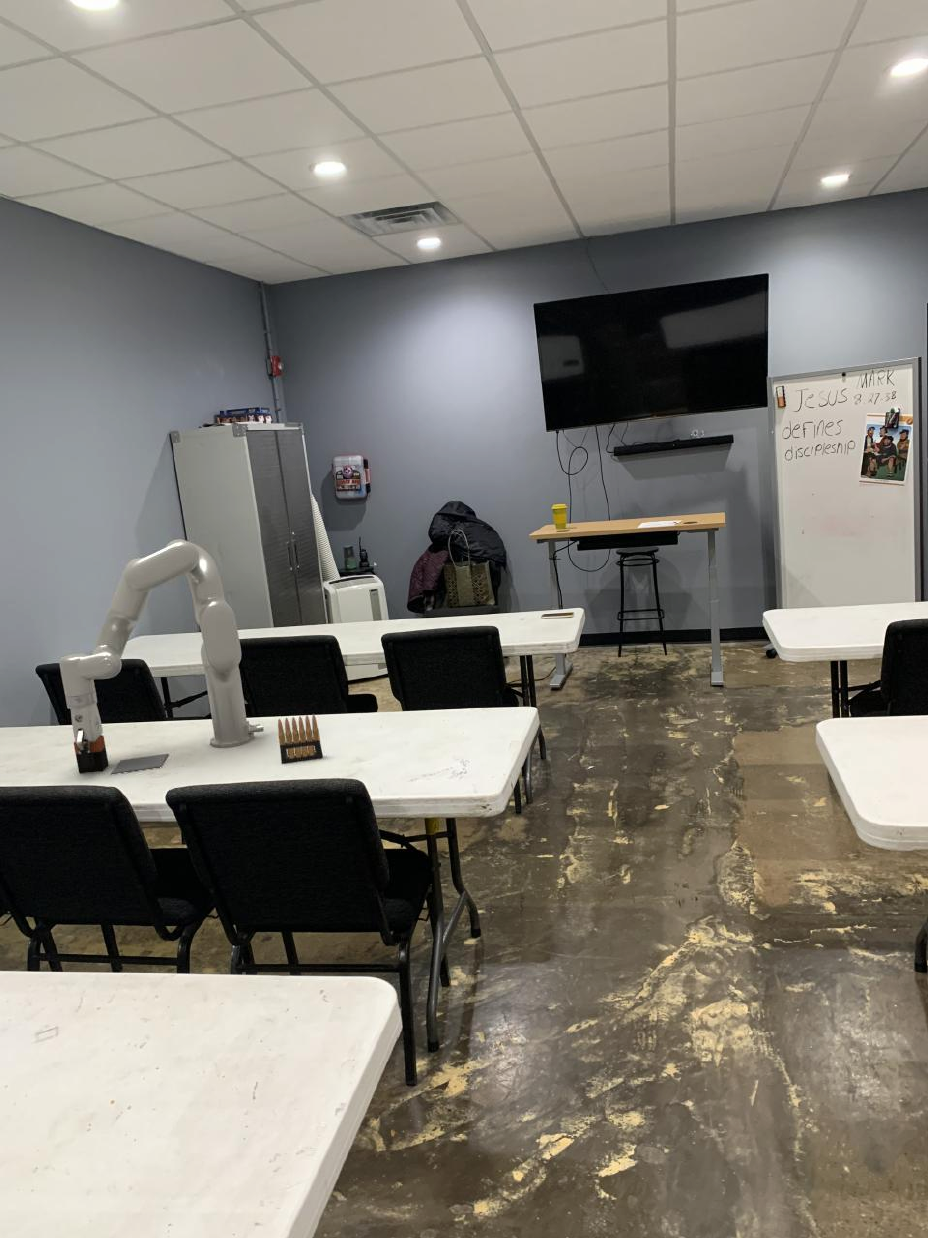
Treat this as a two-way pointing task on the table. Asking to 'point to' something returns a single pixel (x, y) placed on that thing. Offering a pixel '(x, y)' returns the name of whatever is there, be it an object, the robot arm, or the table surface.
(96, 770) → the battery
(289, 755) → the ammunition clip
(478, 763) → the table surface
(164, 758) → the mat
